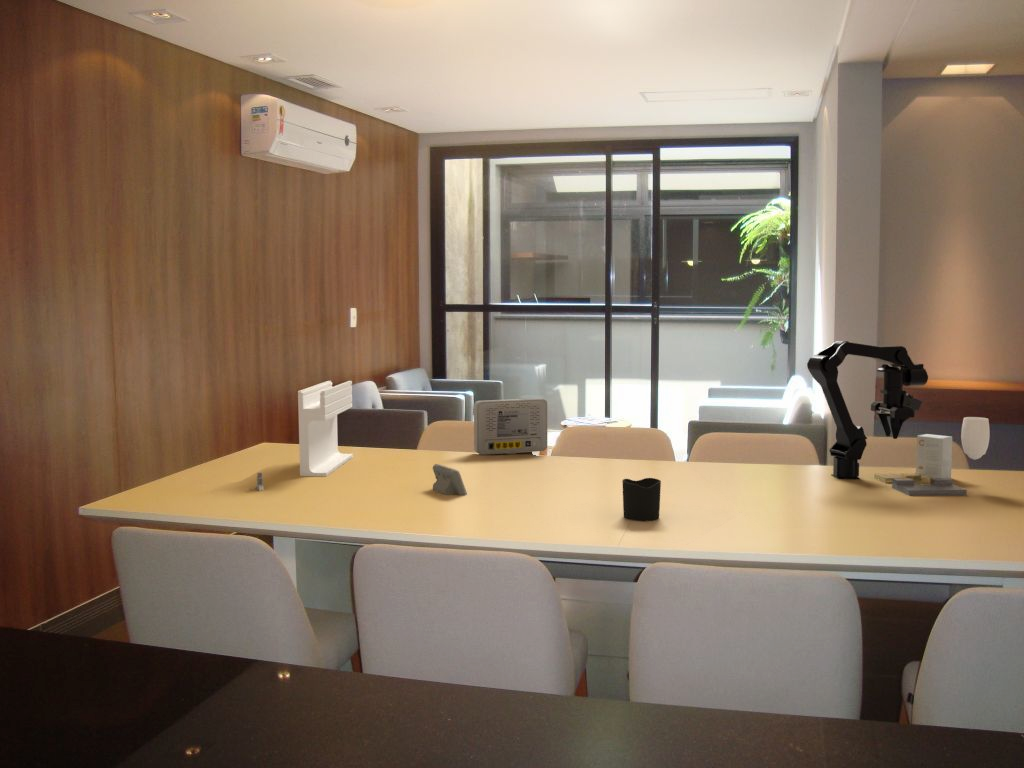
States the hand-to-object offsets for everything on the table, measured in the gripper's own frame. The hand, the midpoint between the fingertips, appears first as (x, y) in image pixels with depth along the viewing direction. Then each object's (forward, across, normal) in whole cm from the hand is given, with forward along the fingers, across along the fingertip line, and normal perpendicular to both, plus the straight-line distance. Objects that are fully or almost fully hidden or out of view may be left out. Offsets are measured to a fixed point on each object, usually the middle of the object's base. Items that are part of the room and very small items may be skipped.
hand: (891, 437), depth 291 cm
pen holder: (+12, -54, +86) cm, 102 cm away
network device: (+12, +41, +116) cm, 123 cm away
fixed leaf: (+12, -27, 0) cm, 30 cm away
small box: (+12, -4, -12) cm, 17 cm away
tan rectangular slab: (+12, -9, 0) cm, 15 cm away
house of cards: (+13, -24, +189) cm, 191 cm away
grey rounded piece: (+12, -23, -14) cm, 30 cm away
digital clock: (+12, -26, +134) cm, 137 cm away
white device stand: (+12, +14, +174) cm, 175 cm away
